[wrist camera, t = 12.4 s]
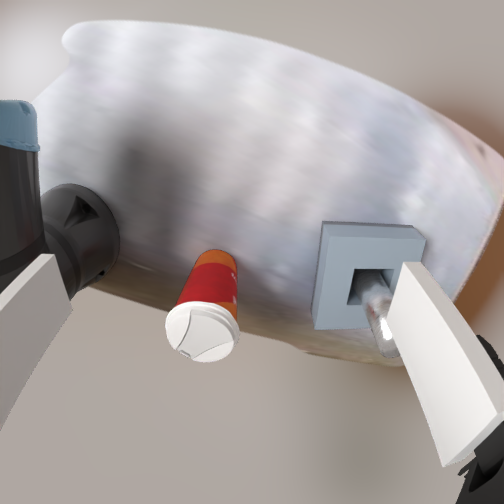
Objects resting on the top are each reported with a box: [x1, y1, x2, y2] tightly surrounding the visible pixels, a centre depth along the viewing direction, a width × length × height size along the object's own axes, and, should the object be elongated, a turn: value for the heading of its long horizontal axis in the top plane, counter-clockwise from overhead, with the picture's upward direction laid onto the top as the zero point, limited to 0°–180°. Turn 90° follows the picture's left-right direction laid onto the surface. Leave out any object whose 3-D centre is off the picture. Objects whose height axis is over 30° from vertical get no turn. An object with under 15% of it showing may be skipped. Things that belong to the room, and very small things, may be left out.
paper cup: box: [165, 250, 240, 362], centre depth 35 cm, size 8×8×14 cm
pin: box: [352, 269, 400, 358], centre depth 34 cm, size 4×4×14 cm
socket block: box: [311, 221, 426, 330], centre depth 39 cm, size 13×14×4 cm
